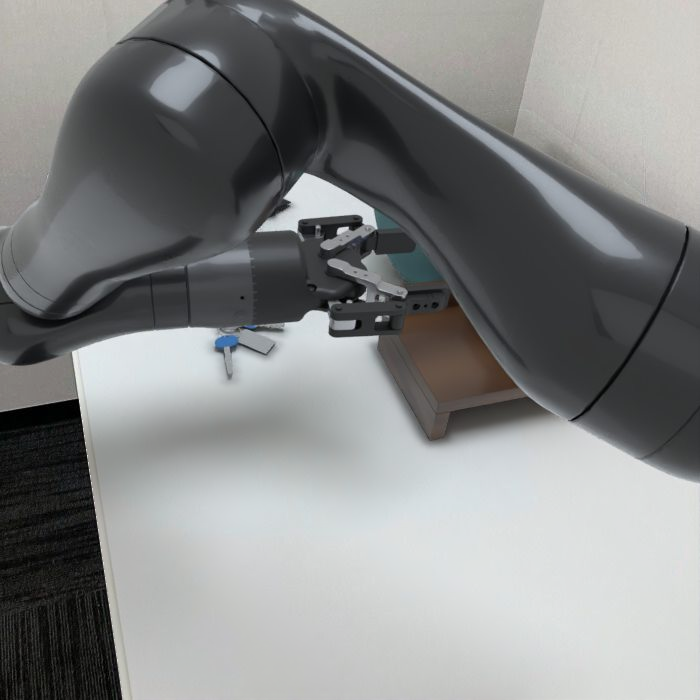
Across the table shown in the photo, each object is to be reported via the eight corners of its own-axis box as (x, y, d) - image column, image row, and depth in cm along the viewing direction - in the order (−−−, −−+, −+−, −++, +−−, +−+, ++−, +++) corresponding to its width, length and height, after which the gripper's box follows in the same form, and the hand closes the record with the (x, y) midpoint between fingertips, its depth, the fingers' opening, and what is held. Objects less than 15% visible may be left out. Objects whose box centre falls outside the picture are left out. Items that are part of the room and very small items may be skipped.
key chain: (189, 298, 86) (188, 292, 86) (259, 285, 89) (259, 279, 89) (227, 378, 77) (227, 372, 76) (304, 361, 80) (304, 355, 79)
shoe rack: (621, 401, 80) (648, 342, 75) (429, 440, 73) (444, 378, 68) (551, 319, 90) (571, 262, 85) (376, 347, 83) (386, 287, 78)
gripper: (257, 294, 55) (469, 278, 59) (229, 194, 65) (411, 186, 69) (255, 372, 60) (451, 353, 64) (230, 268, 70) (400, 257, 74)
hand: (430, 266), depth 67 cm, fingers open, 8 cm apart
